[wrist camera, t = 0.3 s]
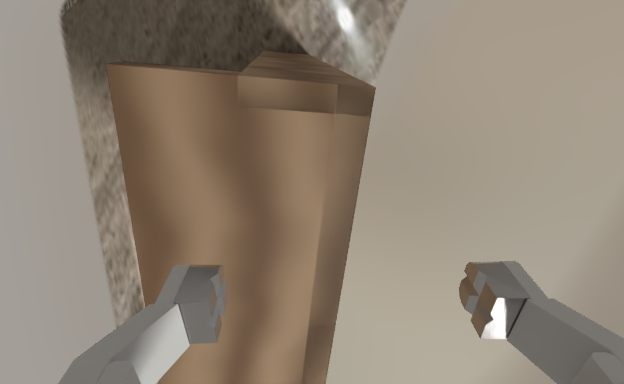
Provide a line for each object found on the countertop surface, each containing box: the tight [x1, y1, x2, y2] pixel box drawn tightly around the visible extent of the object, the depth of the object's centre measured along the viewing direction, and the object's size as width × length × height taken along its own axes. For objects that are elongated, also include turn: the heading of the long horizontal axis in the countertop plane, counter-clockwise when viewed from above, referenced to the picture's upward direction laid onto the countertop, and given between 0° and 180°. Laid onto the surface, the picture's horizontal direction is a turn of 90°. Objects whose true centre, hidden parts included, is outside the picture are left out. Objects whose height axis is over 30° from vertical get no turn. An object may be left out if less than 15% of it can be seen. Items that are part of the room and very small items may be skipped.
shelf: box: [106, 50, 376, 384], centre depth 38 cm, size 13×26×38 cm, turn 175°
